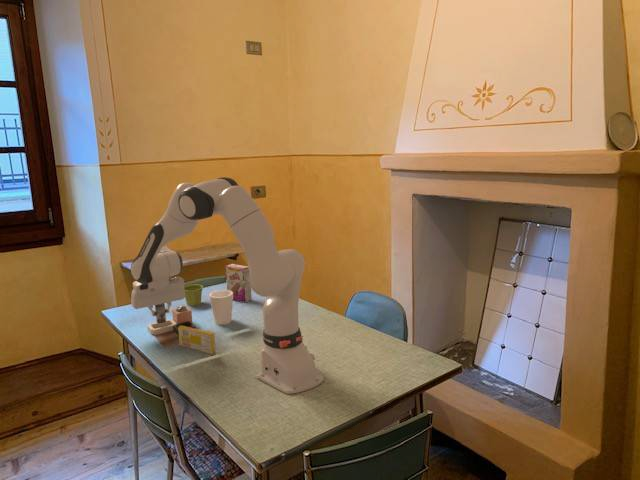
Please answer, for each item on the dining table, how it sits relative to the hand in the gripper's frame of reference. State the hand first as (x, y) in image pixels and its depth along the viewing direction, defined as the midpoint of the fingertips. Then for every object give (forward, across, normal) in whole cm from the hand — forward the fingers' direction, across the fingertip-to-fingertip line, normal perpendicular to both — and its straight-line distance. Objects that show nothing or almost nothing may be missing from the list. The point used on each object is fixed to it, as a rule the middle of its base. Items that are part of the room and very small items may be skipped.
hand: (160, 314), depth 186 cm
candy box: (+8, -5, +26) cm, 27 cm away
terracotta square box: (+7, -8, 0) cm, 11 cm away
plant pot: (+8, -21, -21) cm, 31 cm away
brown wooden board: (+7, -4, +7) cm, 11 cm away
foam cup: (+8, -23, +8) cm, 25 cm away
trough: (+7, 0, 0) cm, 7 cm away
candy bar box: (+8, -41, -15) cm, 44 cm away
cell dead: (+6, -8, 0) cm, 11 cm away
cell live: (+3, 0, 0) cm, 3 cm away
